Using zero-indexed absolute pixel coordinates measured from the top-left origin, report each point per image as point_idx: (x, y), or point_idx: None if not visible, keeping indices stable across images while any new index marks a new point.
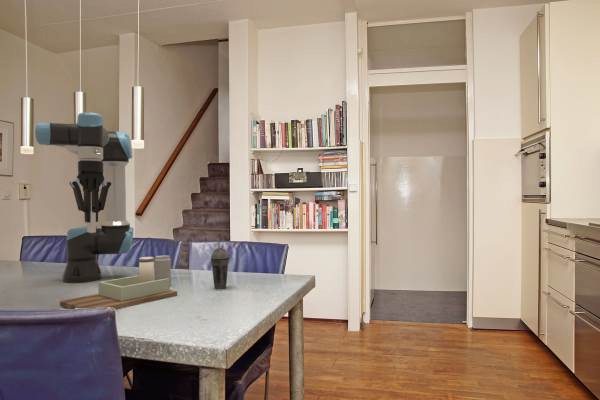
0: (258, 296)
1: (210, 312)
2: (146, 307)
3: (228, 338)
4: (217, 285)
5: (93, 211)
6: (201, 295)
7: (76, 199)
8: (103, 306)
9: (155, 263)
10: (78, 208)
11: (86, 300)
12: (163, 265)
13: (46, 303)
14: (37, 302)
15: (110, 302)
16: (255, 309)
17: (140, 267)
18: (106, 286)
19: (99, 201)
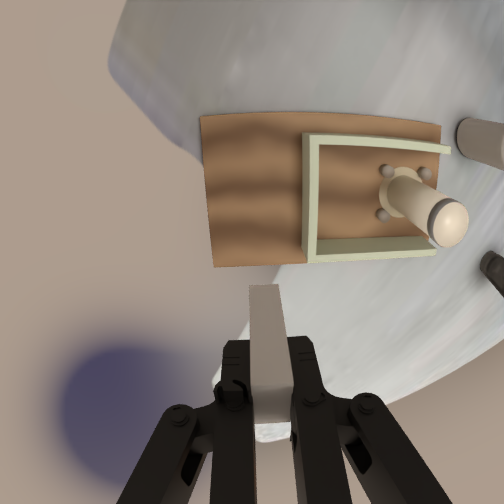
0: (449, 349)
1: (351, 376)
2: (322, 291)
3: (282, 435)
4: (483, 270)
5: (291, 411)
6: (435, 286)
7: (129, 496)
8: (249, 259)
9: (495, 144)
10: (162, 424)
11: (250, 168)
12: (497, 166)
13: (187, 67)
14: (176, 40)
15: (279, 236)
16: (387, 392)
17: (418, 215)
18: (308, 183)
19: (375, 472)
